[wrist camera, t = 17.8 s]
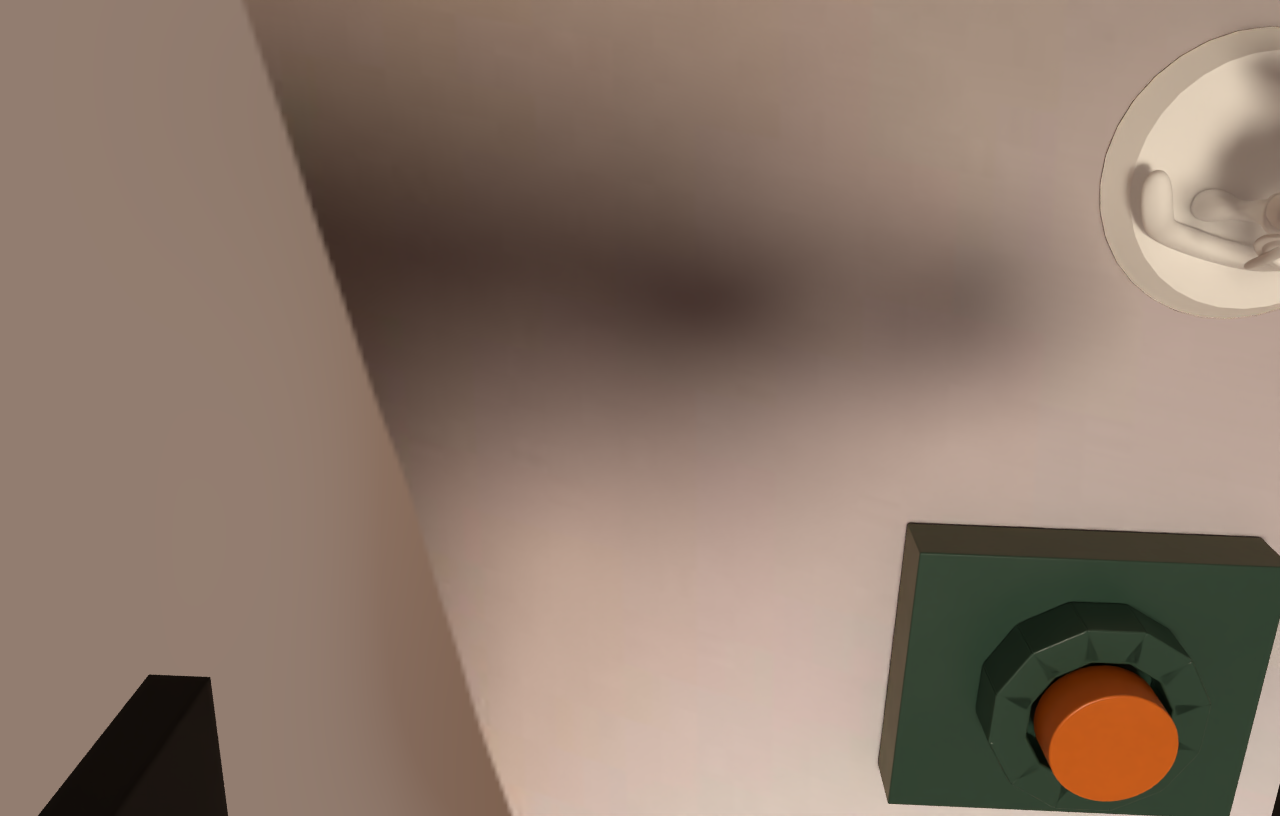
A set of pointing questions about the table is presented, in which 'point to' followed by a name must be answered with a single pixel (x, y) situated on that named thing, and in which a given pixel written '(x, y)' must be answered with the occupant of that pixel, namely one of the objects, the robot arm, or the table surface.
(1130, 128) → the figurine
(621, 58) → the table surface
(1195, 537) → the button box
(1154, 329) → the table surface
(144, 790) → the robot arm
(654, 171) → the table surface
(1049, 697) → the button
